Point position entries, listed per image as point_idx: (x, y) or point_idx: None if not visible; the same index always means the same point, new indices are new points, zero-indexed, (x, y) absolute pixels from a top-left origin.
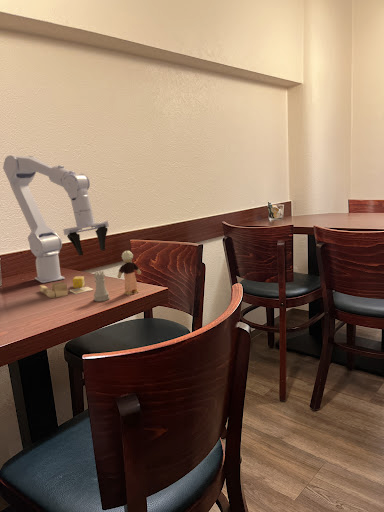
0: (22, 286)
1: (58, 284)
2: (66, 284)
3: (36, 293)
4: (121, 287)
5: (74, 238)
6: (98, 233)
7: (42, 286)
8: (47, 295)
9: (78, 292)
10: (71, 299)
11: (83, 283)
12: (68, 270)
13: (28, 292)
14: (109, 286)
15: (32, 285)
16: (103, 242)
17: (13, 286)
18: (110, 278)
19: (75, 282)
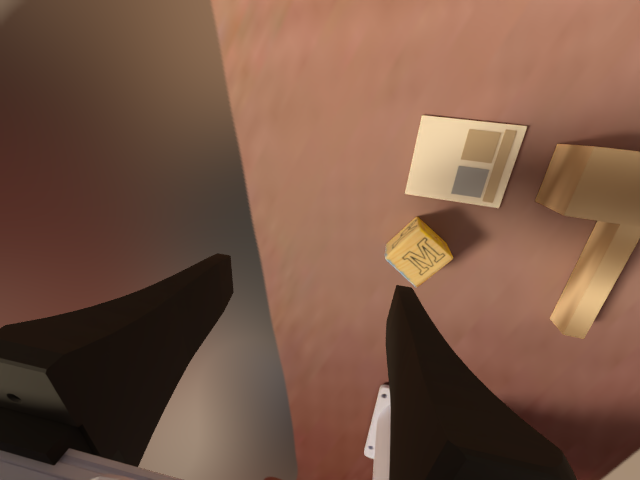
0: None
1: (636, 170)
2: (590, 146)
3: (608, 303)
4: (312, 36)
5: (524, 423)
6: (137, 400)
7: (591, 311)
8: None
9: (505, 126)
10: (620, 30)
11: (400, 234)
12: (303, 460)
13: (610, 348)
14: (337, 112)
15: None
16: (184, 279)
17: None
18: (263, 237)
19: (442, 243)
